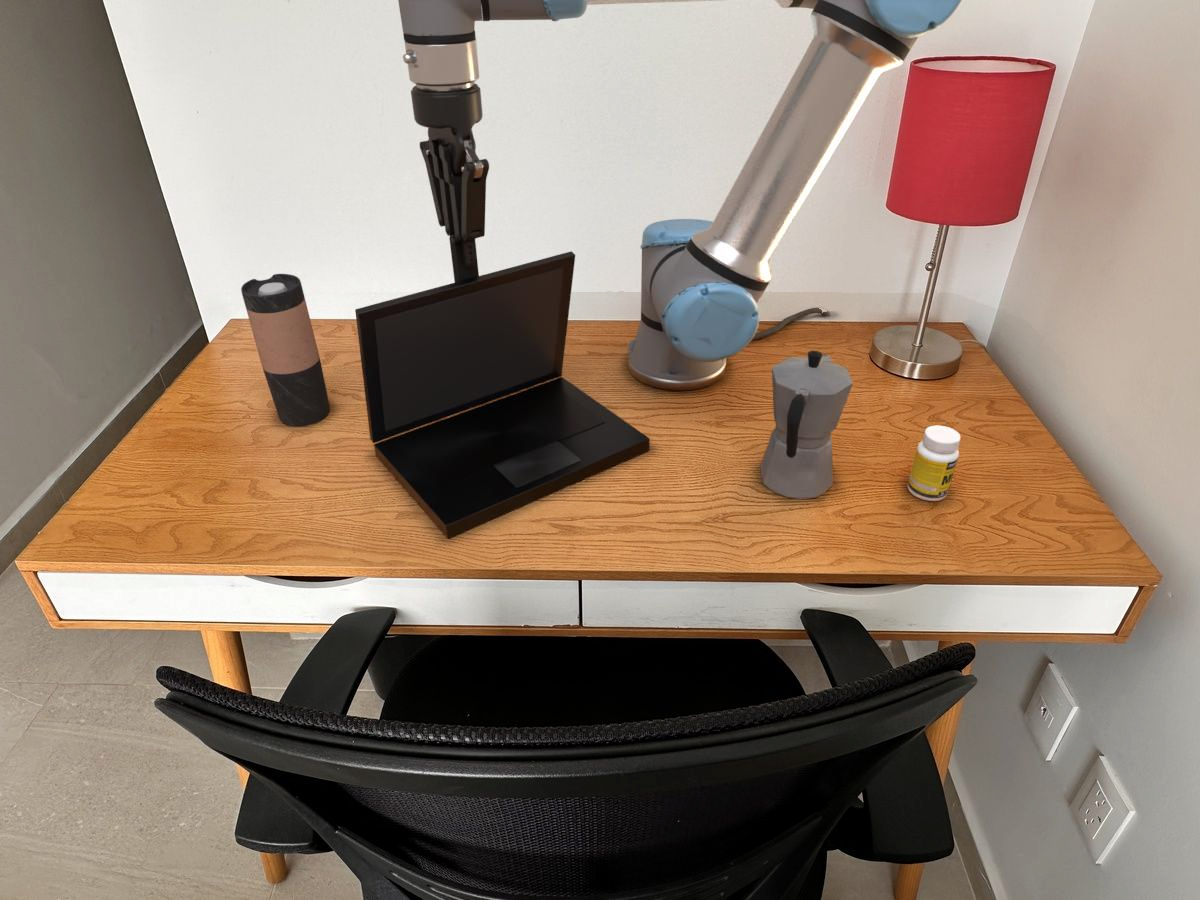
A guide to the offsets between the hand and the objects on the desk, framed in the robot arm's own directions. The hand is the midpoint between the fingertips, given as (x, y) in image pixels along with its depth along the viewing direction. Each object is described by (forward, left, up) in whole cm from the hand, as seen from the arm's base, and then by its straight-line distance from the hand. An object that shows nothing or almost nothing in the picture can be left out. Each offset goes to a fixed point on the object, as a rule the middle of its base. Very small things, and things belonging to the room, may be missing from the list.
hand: (467, 287), depth 100 cm
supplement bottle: (-37, +46, -21) cm, 63 cm away
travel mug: (+19, -19, -21) cm, 34 cm away
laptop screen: (0, 0, -9) cm, 9 cm away
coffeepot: (-25, +35, -21) cm, 48 cm away
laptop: (0, +8, -21) cm, 22 cm away
